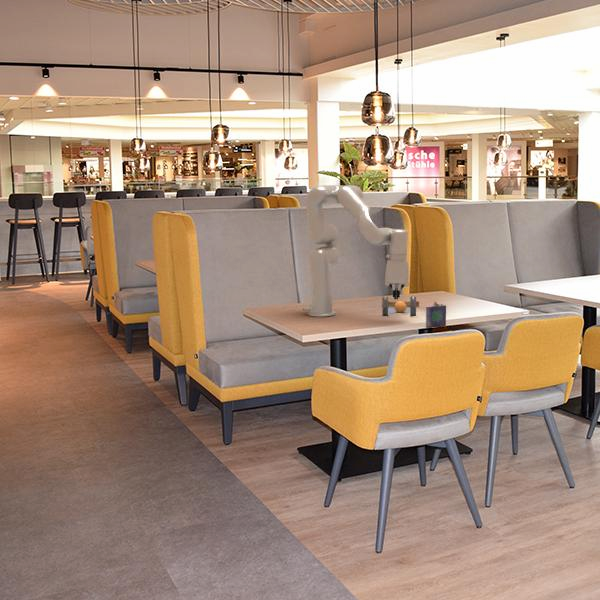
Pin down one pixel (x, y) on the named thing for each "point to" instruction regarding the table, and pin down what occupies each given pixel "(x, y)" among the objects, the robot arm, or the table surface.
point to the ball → (400, 306)
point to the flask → (436, 315)
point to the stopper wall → (392, 303)
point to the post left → (384, 306)
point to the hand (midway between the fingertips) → (396, 298)
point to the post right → (413, 306)
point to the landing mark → (392, 310)
